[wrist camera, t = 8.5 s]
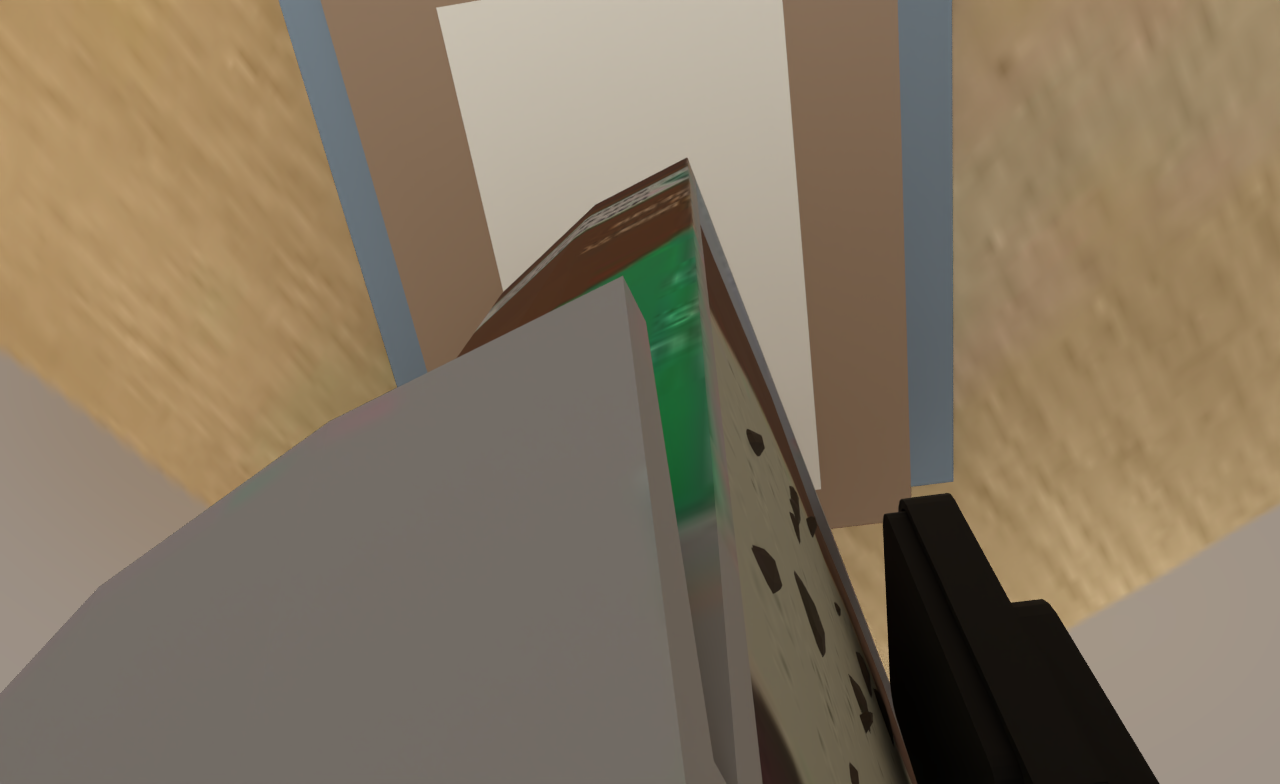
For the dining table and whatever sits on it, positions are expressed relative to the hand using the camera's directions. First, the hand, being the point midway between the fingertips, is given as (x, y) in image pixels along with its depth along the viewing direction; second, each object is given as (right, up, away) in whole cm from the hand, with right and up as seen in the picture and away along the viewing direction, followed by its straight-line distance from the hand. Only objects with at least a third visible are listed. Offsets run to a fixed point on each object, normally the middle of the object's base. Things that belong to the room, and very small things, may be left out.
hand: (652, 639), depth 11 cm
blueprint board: (0, +7, +14) cm, 16 cm away
